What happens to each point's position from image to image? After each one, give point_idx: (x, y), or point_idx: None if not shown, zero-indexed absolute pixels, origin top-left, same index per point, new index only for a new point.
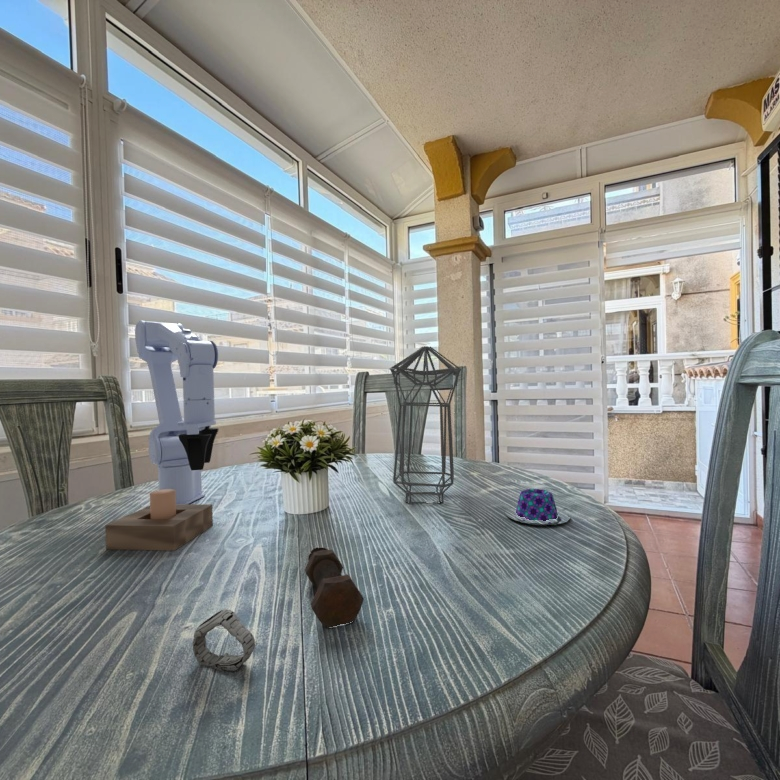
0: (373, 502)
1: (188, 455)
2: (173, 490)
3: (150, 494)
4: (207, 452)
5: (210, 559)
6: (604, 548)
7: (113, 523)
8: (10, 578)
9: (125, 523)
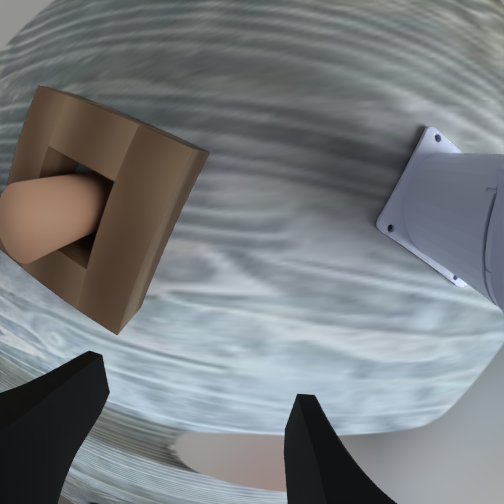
0: (200, 500)
1: (29, 386)
2: (26, 257)
3: (5, 188)
4: (291, 470)
5: (5, 288)
6: None
7: (41, 98)
8: (36, 18)
9: (29, 130)
